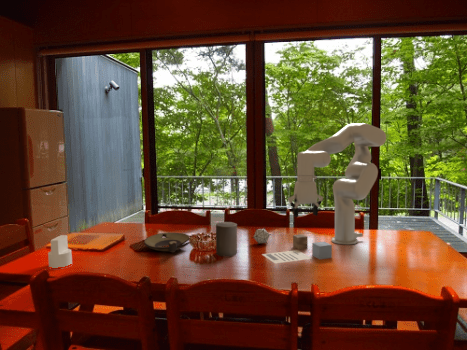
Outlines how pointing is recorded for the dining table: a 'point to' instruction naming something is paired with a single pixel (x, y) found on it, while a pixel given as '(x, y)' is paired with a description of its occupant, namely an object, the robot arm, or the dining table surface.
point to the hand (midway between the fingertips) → (305, 215)
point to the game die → (261, 236)
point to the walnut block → (300, 241)
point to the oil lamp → (167, 241)
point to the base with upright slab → (59, 252)
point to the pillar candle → (226, 239)
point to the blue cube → (322, 250)
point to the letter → (286, 256)
